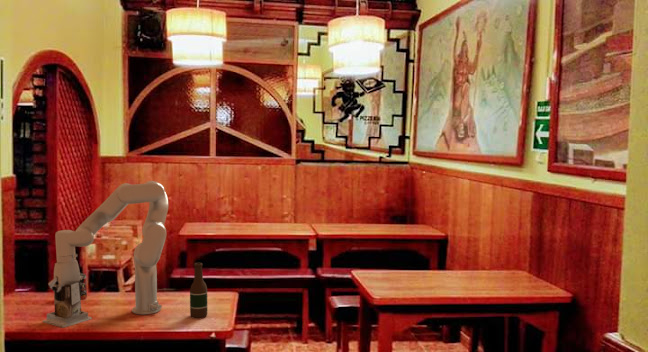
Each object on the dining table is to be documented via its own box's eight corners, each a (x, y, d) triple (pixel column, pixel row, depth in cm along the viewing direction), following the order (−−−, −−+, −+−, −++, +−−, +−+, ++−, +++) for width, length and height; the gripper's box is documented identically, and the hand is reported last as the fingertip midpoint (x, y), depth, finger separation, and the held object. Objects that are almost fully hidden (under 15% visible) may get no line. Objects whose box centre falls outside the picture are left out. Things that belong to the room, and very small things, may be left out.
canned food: (76, 301, 282) (76, 279, 281) (66, 299, 286) (65, 277, 285) (90, 298, 288) (89, 276, 288) (80, 295, 293) (79, 274, 292)
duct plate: (91, 318, 255) (91, 311, 255) (63, 327, 244) (62, 320, 243) (71, 313, 263) (71, 306, 263) (42, 322, 251) (42, 314, 251)
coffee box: (82, 317, 255) (81, 281, 254) (72, 321, 249) (71, 284, 248) (64, 315, 258) (63, 279, 256) (54, 320, 251) (53, 283, 250)
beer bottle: (211, 314, 262) (210, 262, 261) (202, 319, 255) (201, 265, 253) (196, 312, 265) (195, 260, 263) (186, 317, 258) (185, 264, 256)
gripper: (78, 254, 261) (80, 291, 262) (42, 262, 246) (45, 301, 247) (89, 255, 257) (91, 293, 258) (53, 263, 242) (55, 304, 243)
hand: (68, 297), depth 253 cm, fingers open, 9 cm apart
